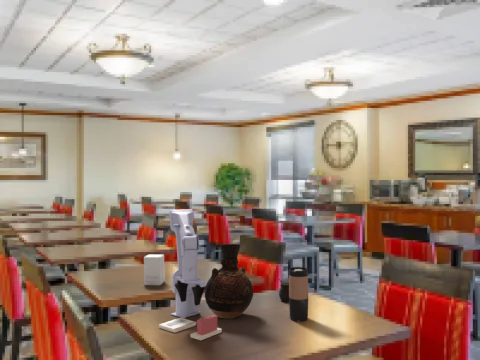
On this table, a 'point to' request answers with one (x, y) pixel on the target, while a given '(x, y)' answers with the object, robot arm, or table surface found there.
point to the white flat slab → (177, 325)
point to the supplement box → (154, 269)
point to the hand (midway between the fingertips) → (190, 303)
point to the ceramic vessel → (229, 286)
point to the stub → (206, 328)
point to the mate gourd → (284, 291)
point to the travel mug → (298, 293)
